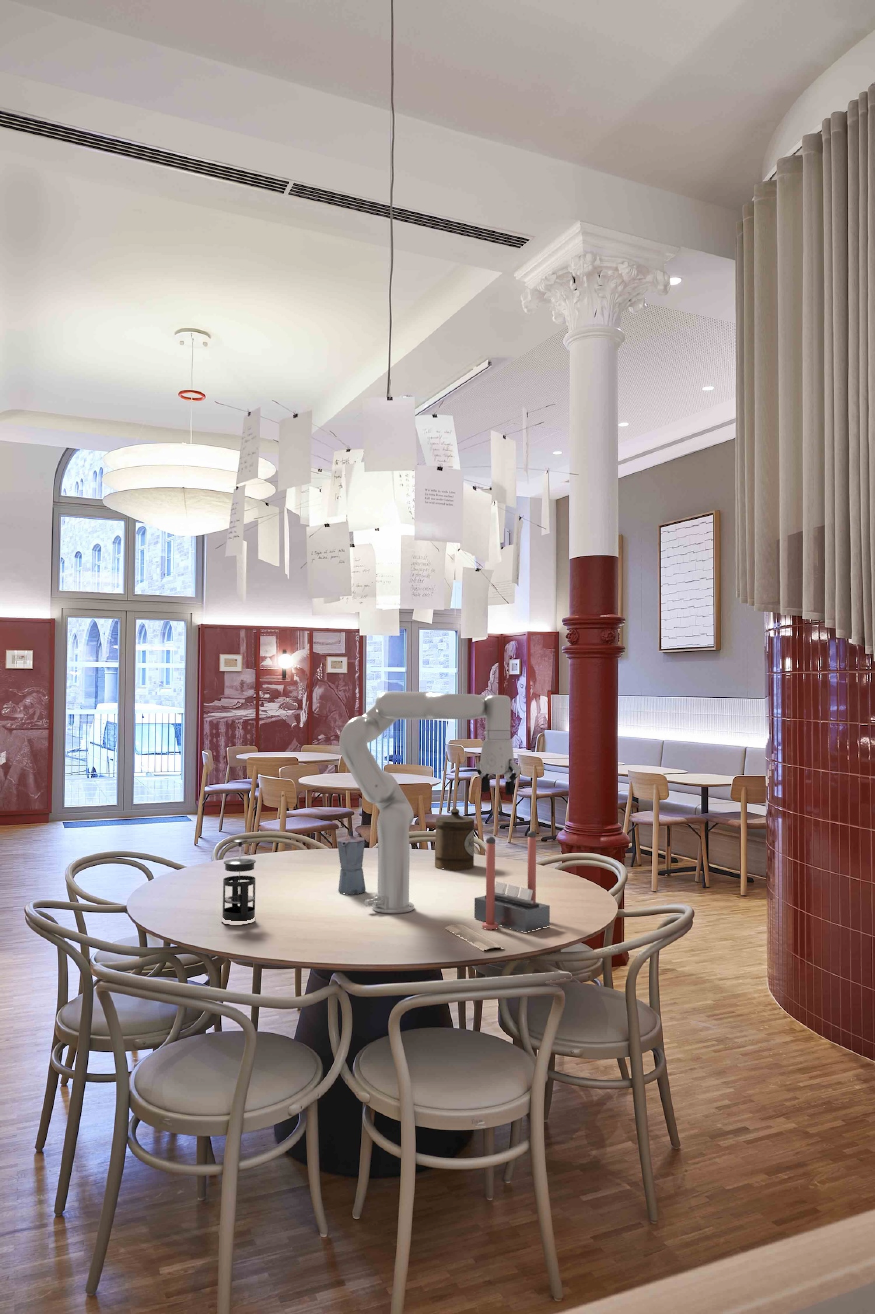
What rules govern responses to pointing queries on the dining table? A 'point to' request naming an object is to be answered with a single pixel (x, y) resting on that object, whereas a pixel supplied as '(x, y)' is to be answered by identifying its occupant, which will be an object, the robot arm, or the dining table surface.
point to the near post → (490, 885)
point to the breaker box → (515, 913)
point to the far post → (532, 863)
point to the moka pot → (351, 864)
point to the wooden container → (454, 842)
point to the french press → (242, 898)
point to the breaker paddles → (513, 892)
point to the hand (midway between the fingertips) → (497, 793)
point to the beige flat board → (472, 936)
